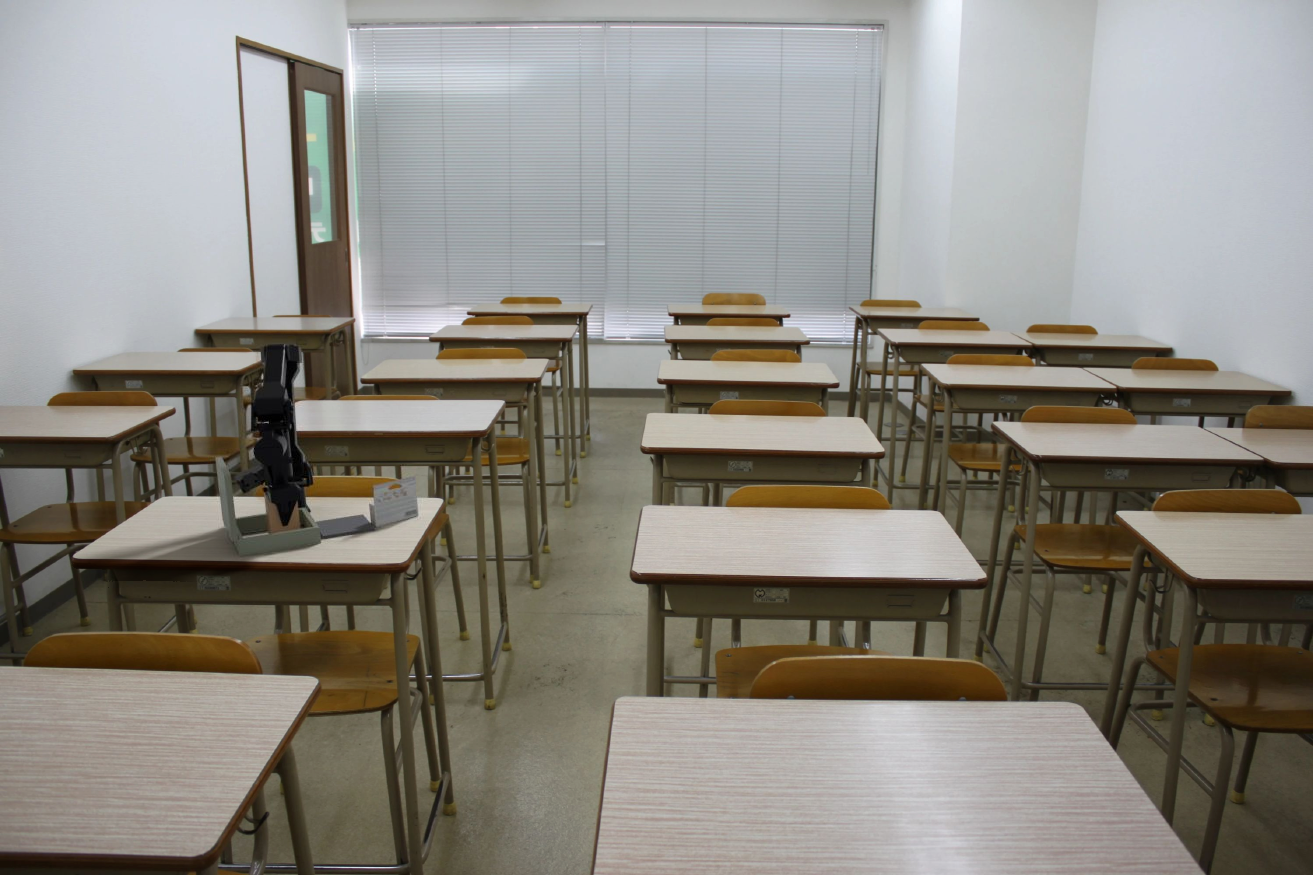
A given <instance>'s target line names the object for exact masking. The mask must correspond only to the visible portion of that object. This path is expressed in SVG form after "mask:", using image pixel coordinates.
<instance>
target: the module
mask: <svg viewBox="0 0 1313 875" xmlns="http://www.w3.org/2000/svg"><path fill="white" fill-rule="evenodd" d="M263 494H264V495H263V497H264V505H265V506H264V508H265V513H266V517H267V526H268V530H267V532H268V533H267V534H272V533H278V532H284V531H290V530H297V529H301V525H300V522H299V512H298V501H297V503H296V505H295V508H294V510H293V513H292V515H291V518H290V521H289V524H288V526H282V523H281V520H280V517H279V513H278V510H277V507H276V505H275V504H273V503H271V502H270V501H269V499H268V497H269V496H268V490H267V492H264V491H263Z"/></svg>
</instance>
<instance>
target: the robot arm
mask: <svg viewBox="0 0 1313 875" xmlns="http://www.w3.org/2000/svg"><path fill="white" fill-rule="evenodd" d="M259 348H260V364H262V365H264V370H263V379H262V380H263V381H262V386H260V387H259V388H258V389H256V390H255V393H254V399H253V400H252V401H251V402H250V431H251V432H258V434H259V435H258V436H259V437H258V439H257V441H256V442H255V445H254V446H253V451H252V452H253V456H254V458H255V460H256V461H258V462H259V464H258V465H255V466H252V467H250V468H248V469H246V470H244V471H242V472H239V473H237V474H236V475H234V479H235V481H236V483H237V485H238V487H239V489H240V490H241V493H242V494H247V493H250V492H251V490H254V489H256V488H257V487H260V486H265V487H262V488H261V490H262V491H263V493H264V492H267V490H268V496H269V497H268V499H269V501H270V502H271V503H273V504H275V505H276V507H277V510H278V513H279V517H280V520H281V523H282V526H288V524H289V521H290V518H291V515H292V513H293V510H294V508H295V505H296V503H297V501H298V509H299V508H306V509H307V511H308V512H309V513H311V511H312V510H311V508H310V507H309V506H308V504H307V496H306V488H310V486H313V485H314V476H313V471H312V467H311V466H310V464H309V461H306V455H305V453H304V452H303V451H302V449H301V447H300V446H299V445H298V434H297V421H296V420H297V419H296V402H295V384H294V382H295V381H296V378H297V377H298V375H299V374H300V371H301V364H302V363H303V352H302V348H301V347H300V346H298V345H296V343H285V342H282V343H281V342H280V343H279V342H278V343H267V344H265V345H263V346H261V347H259Z"/></svg>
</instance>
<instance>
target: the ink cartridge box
mask: <svg viewBox="0 0 1313 875" xmlns="http://www.w3.org/2000/svg"><path fill="white" fill-rule="evenodd" d="M416 479H417V478H416V475H413V476H410V477H405V478H400V479H397V480H392V481H388V482H384V483H383V482H382V483H378V484H374V485H372V493H373V502H371V503H368V507H369V517H370V518H369V519H370V523H371V524H372V525H373V526H374V527H375V528H377V527H381V526H385V524H386V525H390V524H393V523H397V522H400V521H404V520H408V518H409V519H412V518H416V517H418V516H419V507H418V504H419V503H418V495H417V481H416ZM395 484H396V485H397V484H398V485H400V487H396V488H392V489H389V488H391V487H392V486H393V485H395ZM415 516H416V517H415ZM411 517H412V518H411Z"/></svg>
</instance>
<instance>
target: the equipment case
mask: <svg viewBox="0 0 1313 875" xmlns="http://www.w3.org/2000/svg"><path fill="white" fill-rule="evenodd" d="M214 458H215V466H216V467H215V468H216V474H217V483H218V491H219V501H220V510H221V518H222V521H223V526H224V527H225V529H226V531H227V533H228V536H229V540H230V541H231V542H233V544H234V546H235V549H236V550H237V553H238V555H239V557H246V556H251V555H256V554H257V555H258V554H263V553H269V552H274V551H275V552H276V551H281V550H287V548H288V549H294V548H299V547H304V546H310V545H317V544H321V543H322V540H321V538H322V537H321V535H320V527H319V526H318V525H317V523H316V522H317V521H316V520H315V519H314V517H313V516H312V515H311V512H308V511H307V509H306V508H299V509H298V512H299V522H300V526H301V525H302V526H304V527H302V528H300V529H297V530H290V531H284V532H278V533H272V534H268V533H266V534H260V535H254V536H248V537H243V536H242V535H243V534H249V533H255V532H261V531H268V526H267V517H266V512H265V513H259V514H252V515H245V516H239V517H236V511H235V503H234V502H235V501H234V493H233V485H232V476H231V472H230V471H229V469H228V468H229V467H227V465H226V463H225V461H224V459H223V457H222V456H217V457H214Z"/></svg>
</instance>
